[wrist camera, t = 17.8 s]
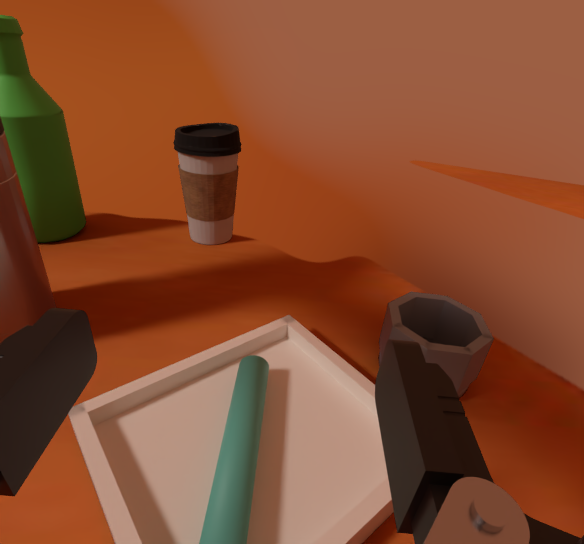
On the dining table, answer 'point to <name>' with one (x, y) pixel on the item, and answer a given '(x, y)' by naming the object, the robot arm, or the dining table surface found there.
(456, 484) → the robot arm
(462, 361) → the cup
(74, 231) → the bottle
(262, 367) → the green rounded rod
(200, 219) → the coffee cup
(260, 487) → the tray
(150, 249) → the dining table surface
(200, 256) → the dining table surface
